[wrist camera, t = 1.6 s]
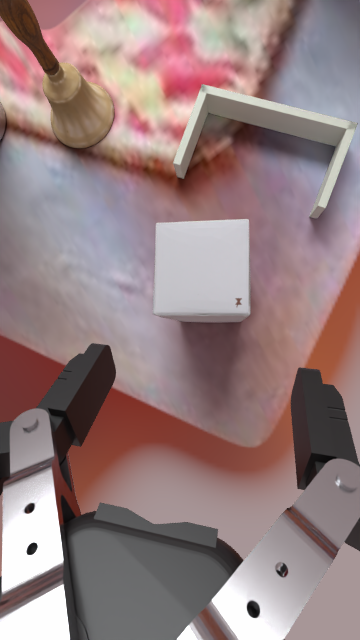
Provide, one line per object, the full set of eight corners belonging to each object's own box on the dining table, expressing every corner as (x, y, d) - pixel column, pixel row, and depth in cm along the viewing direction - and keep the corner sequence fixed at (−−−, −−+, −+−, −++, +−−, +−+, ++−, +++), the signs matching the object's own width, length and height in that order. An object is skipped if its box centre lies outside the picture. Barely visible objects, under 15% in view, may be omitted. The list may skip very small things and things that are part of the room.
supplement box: (243, 258, 35) (253, 216, 22) (241, 323, 34) (252, 318, 22) (178, 258, 36) (154, 219, 23) (177, 322, 35) (151, 317, 23)
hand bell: (115, 80, 38) (36, -101, 22) (114, 146, 37) (33, 10, 22) (52, 87, 39) (-65, -80, 23) (51, 151, 39) (-69, 26, 23)
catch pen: (316, 218, 34) (325, 208, 31) (177, 176, 36) (173, 163, 33) (345, 141, 33) (357, 123, 30) (204, 104, 36) (202, 84, 33)
